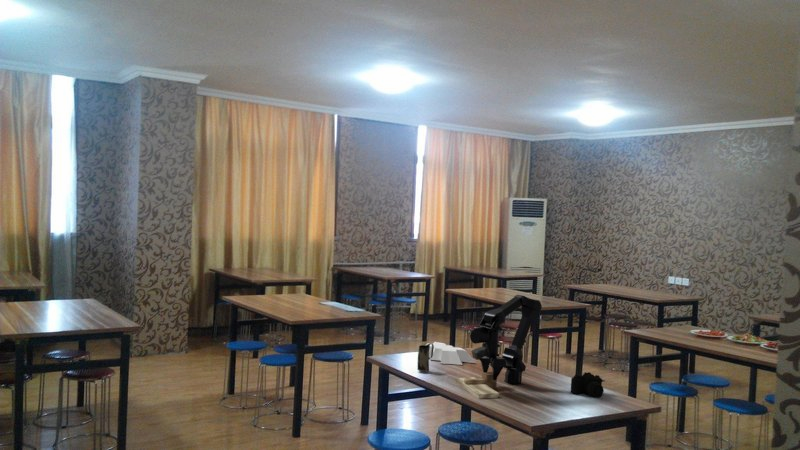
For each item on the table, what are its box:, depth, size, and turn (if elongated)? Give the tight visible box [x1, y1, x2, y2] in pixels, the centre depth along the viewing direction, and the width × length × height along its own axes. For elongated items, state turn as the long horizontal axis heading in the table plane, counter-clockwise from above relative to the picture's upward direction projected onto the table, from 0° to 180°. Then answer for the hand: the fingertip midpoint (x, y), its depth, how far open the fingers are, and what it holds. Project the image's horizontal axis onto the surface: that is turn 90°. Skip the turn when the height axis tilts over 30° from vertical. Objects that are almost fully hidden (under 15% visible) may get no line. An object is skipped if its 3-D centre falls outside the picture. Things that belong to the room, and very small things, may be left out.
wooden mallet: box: [464, 371, 498, 390], centre depth 272 cm, size 14×4×6 cm, turn 108°
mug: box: [417, 342, 434, 372], centre depth 298 cm, size 8×6×12 cm
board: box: [454, 376, 500, 400], centre depth 268 cm, size 9×24×2 cm, turn 18°
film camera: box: [570, 371, 606, 399], centre depth 268 cm, size 15×10×9 cm, turn 106°
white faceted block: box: [425, 341, 477, 366], centre depth 327 cm, size 35×20×6 cm, turn 40°
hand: (489, 377), depth 273 cm, fingers open, 9 cm apart
